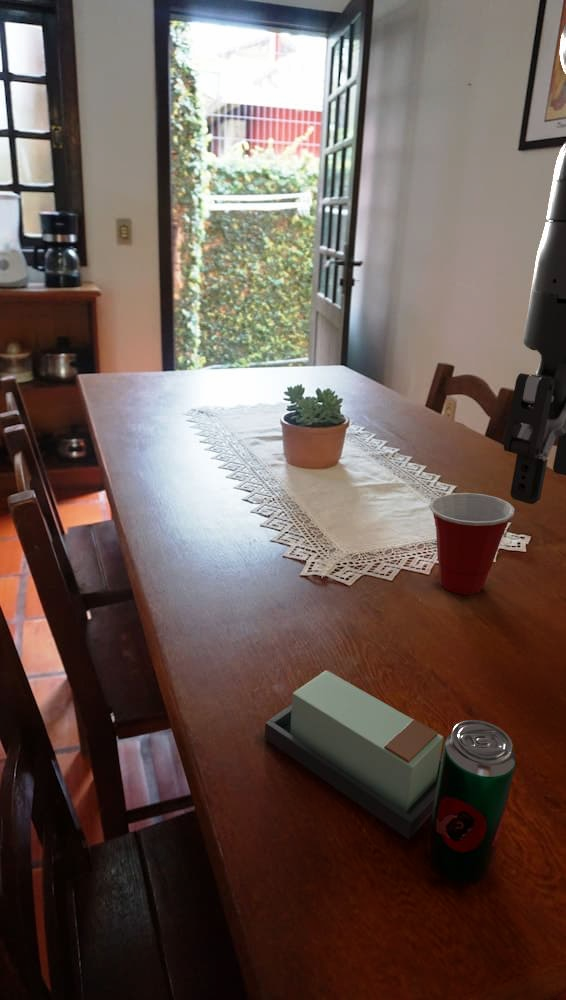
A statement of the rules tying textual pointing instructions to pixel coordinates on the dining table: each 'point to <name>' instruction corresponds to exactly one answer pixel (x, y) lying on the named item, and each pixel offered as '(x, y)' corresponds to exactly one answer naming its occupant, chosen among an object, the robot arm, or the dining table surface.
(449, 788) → the soda can
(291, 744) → the tray
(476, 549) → the plastic cup
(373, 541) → the dining table surface
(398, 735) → the pencil box
